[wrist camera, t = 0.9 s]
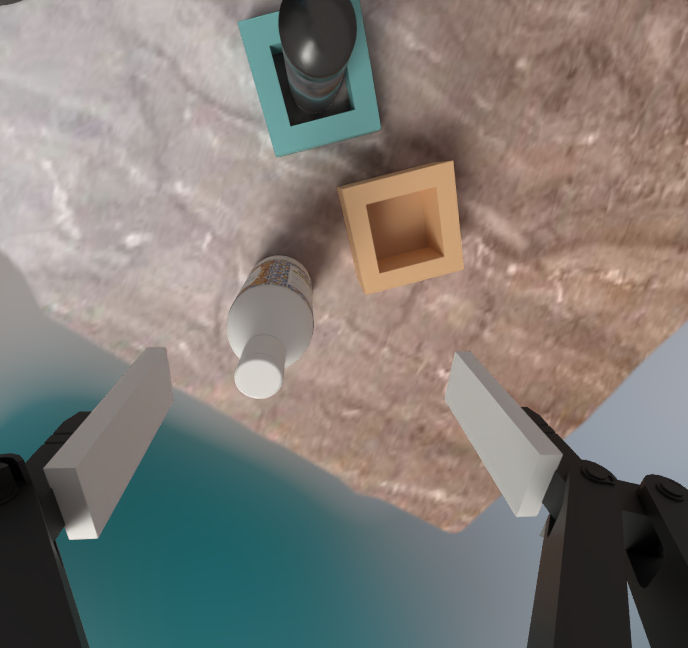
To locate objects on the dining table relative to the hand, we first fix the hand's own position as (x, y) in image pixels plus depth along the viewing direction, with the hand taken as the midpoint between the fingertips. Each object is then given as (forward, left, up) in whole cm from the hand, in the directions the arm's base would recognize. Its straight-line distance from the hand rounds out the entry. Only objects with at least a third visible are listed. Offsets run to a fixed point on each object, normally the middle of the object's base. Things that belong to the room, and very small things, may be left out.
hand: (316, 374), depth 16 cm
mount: (-16, +5, -25) cm, 29 cm away
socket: (-2, +10, -25) cm, 26 cm away
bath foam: (+2, -4, -25) cm, 25 cm away
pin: (-16, +5, -25) cm, 29 cm away
